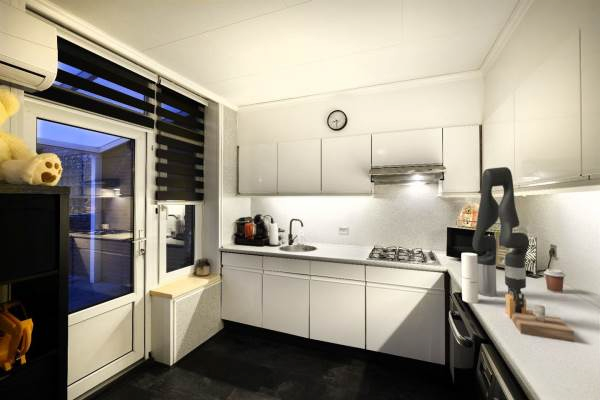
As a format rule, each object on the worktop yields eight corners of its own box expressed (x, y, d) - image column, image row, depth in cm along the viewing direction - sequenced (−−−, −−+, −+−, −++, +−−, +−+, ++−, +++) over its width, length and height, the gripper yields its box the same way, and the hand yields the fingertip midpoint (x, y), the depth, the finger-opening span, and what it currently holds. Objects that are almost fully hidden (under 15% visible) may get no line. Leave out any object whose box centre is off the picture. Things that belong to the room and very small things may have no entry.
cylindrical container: (463, 297, 147) (462, 252, 146) (478, 300, 142) (478, 253, 142) (461, 301, 141) (460, 254, 141) (477, 304, 136) (476, 256, 136)
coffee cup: (570, 294, 147) (570, 272, 147) (551, 293, 148) (550, 272, 148) (558, 288, 156) (557, 268, 156) (540, 288, 157) (539, 268, 157)
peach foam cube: (509, 318, 121) (509, 298, 121) (506, 312, 126) (505, 293, 126) (535, 321, 117) (534, 301, 117) (530, 315, 122) (529, 296, 122)
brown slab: (511, 320, 118) (511, 298, 118) (559, 327, 111) (558, 303, 111) (521, 333, 107) (520, 309, 107) (574, 341, 100) (573, 315, 100)
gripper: (501, 271, 130) (501, 304, 130) (509, 279, 117) (510, 316, 117) (520, 272, 127) (520, 306, 127) (531, 281, 114) (532, 319, 114)
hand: (515, 311), depth 122 cm, fingers open, 7 cm apart
